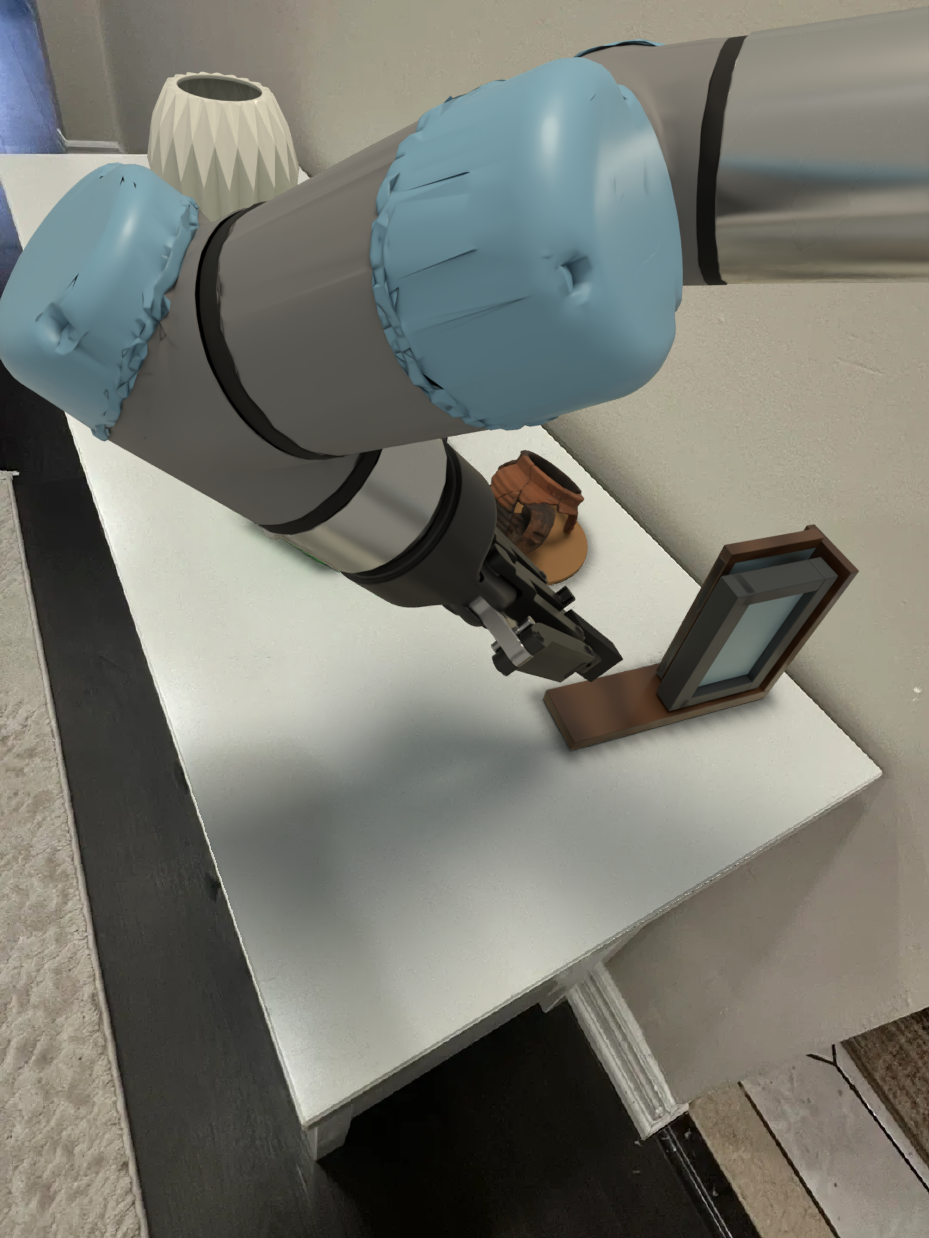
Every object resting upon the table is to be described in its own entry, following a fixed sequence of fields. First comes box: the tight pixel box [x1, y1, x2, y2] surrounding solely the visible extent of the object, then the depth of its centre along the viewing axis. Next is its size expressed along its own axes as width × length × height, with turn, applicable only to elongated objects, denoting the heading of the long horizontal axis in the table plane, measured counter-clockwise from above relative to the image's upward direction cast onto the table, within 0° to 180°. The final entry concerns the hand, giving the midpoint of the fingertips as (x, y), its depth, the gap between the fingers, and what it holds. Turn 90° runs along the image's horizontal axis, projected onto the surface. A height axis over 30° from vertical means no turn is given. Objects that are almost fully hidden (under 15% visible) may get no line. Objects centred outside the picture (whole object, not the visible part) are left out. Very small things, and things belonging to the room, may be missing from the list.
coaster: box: [514, 502, 589, 586], centre depth 73 cm, size 13×13×1 cm
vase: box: [146, 71, 300, 222], centre depth 75 cm, size 13×13×26 cm
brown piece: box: [542, 523, 860, 751], centre depth 57 cm, size 19×5×15 cm, turn 111°
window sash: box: [656, 557, 838, 711], centre depth 57 cm, size 9×2×13 cm, turn 111°
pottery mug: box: [489, 449, 585, 553], centre depth 71 cm, size 12×10×8 cm
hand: (601, 662), depth 52 cm, fingers closed
